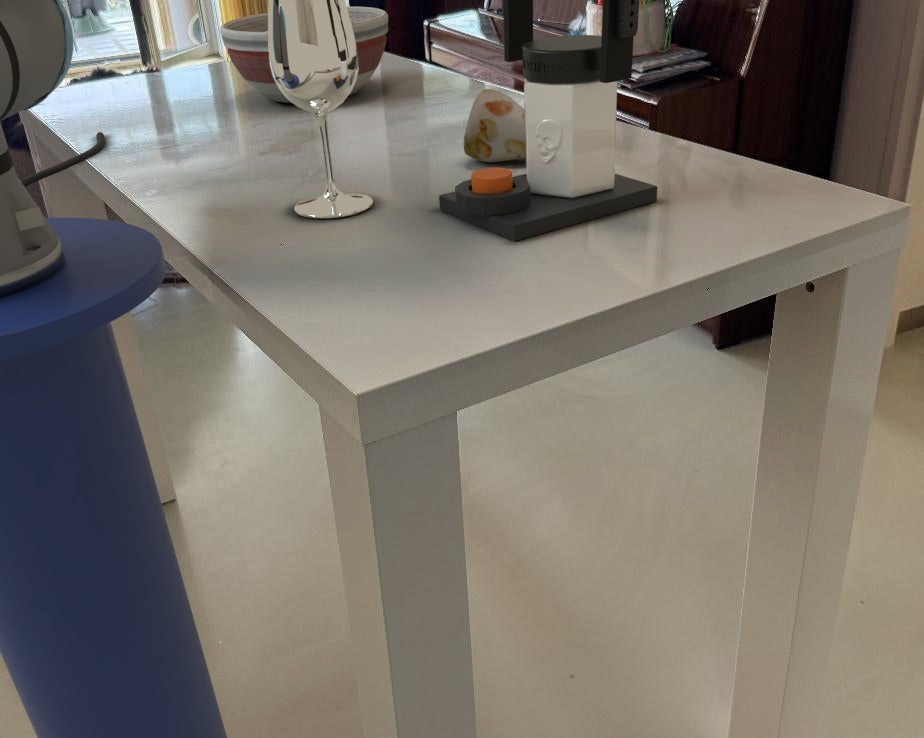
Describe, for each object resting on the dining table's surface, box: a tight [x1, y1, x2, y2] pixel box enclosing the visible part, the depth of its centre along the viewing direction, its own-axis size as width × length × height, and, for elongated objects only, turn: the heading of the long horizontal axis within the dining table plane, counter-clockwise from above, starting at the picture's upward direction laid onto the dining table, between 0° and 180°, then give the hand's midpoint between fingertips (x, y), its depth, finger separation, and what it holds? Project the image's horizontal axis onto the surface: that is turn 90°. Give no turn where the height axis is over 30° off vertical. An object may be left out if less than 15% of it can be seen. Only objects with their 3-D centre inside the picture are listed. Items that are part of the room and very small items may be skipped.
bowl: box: [219, 5, 389, 104], centre depth 136 cm, size 23×23×10 cm
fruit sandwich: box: [463, 88, 526, 163], centre depth 102 cm, size 8×10×10 cm
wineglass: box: [267, 0, 374, 220], centre depth 88 cm, size 8×8×20 cm
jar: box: [521, 34, 618, 198], centre depth 87 cm, size 9×8×12 cm
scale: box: [438, 173, 659, 242], centre depth 89 cm, size 12×17×3 cm
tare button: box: [470, 167, 513, 194], centre depth 85 cm, size 4×4×2 cm
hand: (564, 70), depth 85 cm, fingers open, 13 cm apart
